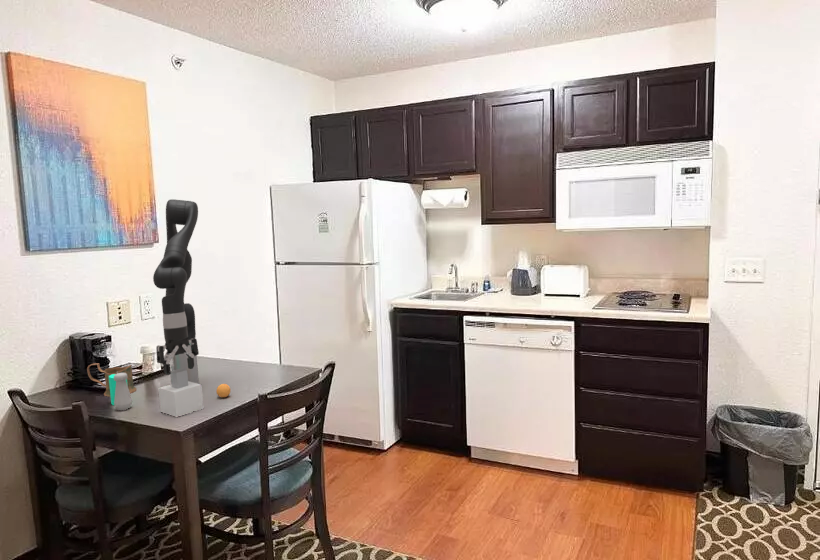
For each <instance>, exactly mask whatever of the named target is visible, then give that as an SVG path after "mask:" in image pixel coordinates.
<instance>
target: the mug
mask: <svg viewBox="0 0 820 560" xmlns="http://www.w3.org/2000/svg"><path fill="white" fill-rule="evenodd" d="M91 366H97V370H98V371H99V372H101V373H104V380H105V383H103V382H102V381H101V380H100V379H99V380H98V379H96V378H94V377H93V376H92V375H91V372H90V370H91V369H90V367H91ZM86 371H87V376H88V378H89V379H90V380H91V381H93V382H96V383H98V384H100V385H101V386H103V387H105V391H104V393H103V395H104V397H106V396H107V397H108V398H111V396H110V386H109V376H110V375H111V374H117V373H126V374H127V376H128V378H127V385H128V389H129V392H130V395H131V394H133V393H135V392H137V387H136V386H135V385H134V375H133V368H132V364H130V365H128V366H127V365H126V366H123V367H122V366H120V367H116V366H115V367H108V368H105V369H104V370H103V369H102V368H101V367H100V363H96V362H95V363H91V364H89V365H88V366H87V368H86Z"/></svg>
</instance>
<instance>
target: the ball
mask: <svg viewBox="0 0 820 560" xmlns="http://www.w3.org/2000/svg"><path fill="white" fill-rule="evenodd" d="M230 394H231V386H229V385H228V384H227V383H222V384H221V383H220V384H219V385H218V386H217V388H216V395H217V396H218V397H220V398H227V397H228V396H229V395H230Z"/></svg>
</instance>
